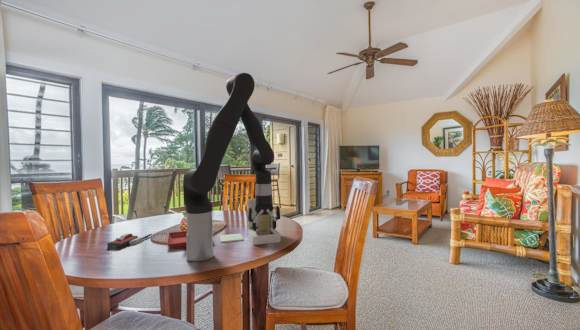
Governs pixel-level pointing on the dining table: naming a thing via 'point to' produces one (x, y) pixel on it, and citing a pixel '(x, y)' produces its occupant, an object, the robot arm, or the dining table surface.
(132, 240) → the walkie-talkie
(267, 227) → the shoe polish box
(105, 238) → the dining table surface
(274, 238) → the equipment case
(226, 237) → the sage mat
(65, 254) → the dining table surface
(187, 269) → the dining table surface
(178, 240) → the plant saucer
